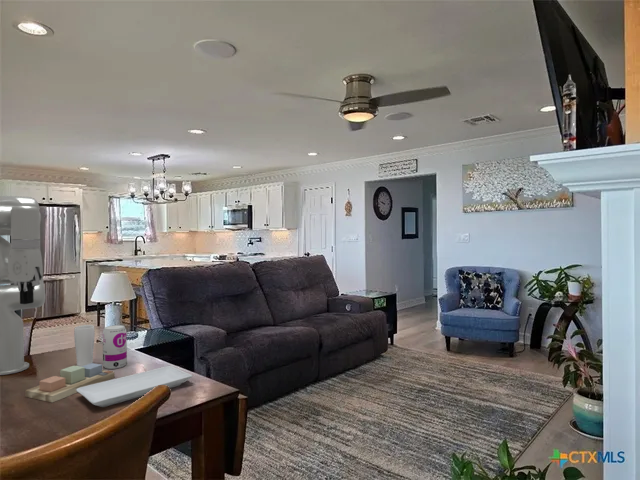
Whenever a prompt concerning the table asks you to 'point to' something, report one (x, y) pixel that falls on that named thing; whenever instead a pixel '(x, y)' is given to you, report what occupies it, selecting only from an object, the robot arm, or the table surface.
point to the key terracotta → (52, 384)
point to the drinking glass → (84, 344)
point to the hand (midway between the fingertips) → (26, 303)
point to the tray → (132, 385)
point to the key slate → (92, 370)
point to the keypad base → (68, 388)
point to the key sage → (73, 374)
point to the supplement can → (114, 346)
